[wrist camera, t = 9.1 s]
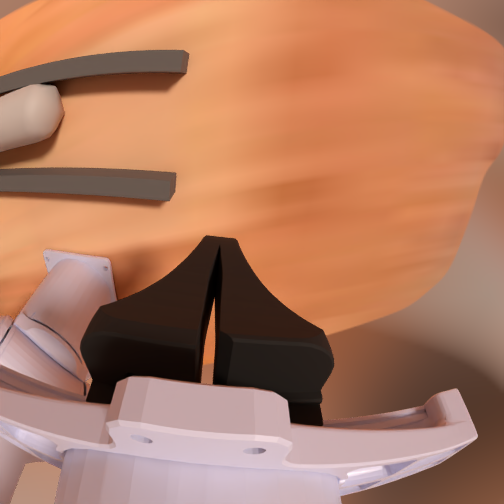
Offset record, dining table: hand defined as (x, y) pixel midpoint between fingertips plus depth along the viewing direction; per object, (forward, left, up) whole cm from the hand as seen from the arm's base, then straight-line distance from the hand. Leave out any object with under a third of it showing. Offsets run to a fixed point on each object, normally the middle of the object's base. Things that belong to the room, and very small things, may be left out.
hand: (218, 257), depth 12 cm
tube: (+4, +26, -11) cm, 28 cm away
